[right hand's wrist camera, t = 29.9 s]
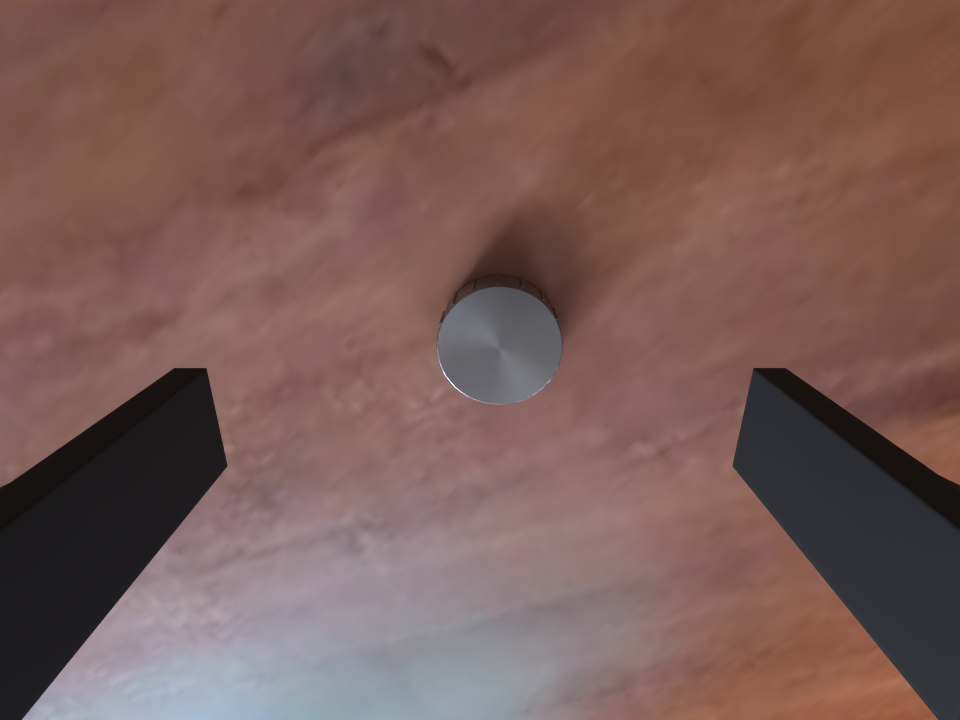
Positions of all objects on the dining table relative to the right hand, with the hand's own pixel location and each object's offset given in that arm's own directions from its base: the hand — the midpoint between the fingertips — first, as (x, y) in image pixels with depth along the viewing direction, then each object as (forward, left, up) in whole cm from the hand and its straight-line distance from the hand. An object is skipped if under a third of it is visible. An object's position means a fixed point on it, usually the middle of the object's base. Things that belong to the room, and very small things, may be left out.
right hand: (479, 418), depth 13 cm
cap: (0, 0, -6) cm, 6 cm away
